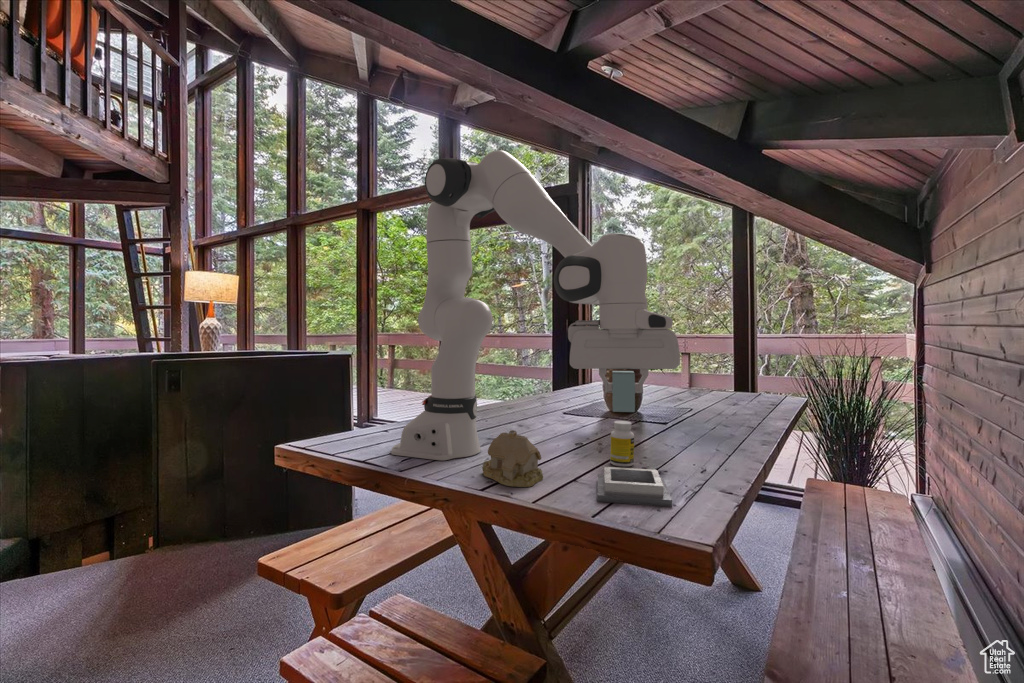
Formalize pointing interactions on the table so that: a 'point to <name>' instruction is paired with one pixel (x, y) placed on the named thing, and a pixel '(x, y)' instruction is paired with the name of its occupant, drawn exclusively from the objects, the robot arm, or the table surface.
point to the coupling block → (623, 391)
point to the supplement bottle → (622, 444)
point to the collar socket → (632, 487)
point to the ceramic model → (513, 461)
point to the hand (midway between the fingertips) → (623, 392)
